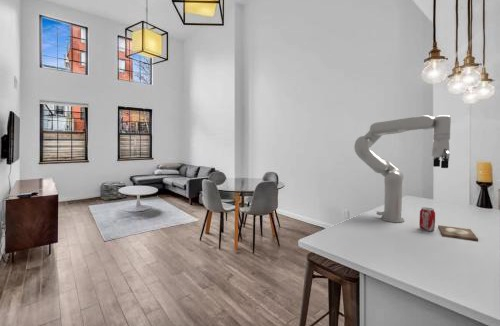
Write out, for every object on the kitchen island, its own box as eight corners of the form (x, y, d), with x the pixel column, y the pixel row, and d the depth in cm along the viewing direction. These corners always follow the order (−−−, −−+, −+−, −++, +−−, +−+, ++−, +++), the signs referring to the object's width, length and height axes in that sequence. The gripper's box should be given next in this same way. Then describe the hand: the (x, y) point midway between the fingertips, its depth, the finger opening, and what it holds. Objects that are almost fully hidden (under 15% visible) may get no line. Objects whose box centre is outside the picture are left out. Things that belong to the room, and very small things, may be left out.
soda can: (437, 232, 134) (438, 210, 134) (422, 231, 136) (423, 210, 135) (430, 227, 141) (431, 207, 140) (416, 227, 143) (417, 206, 142)
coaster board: (442, 236, 129) (442, 233, 129) (438, 227, 142) (438, 224, 142) (478, 241, 121) (478, 238, 121) (470, 231, 135) (470, 228, 135)
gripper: (427, 138, 150) (426, 166, 151) (441, 137, 133) (439, 168, 134) (442, 137, 148) (440, 166, 149) (457, 136, 131) (456, 168, 132)
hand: (440, 167), depth 142 cm, fingers open, 9 cm apart
